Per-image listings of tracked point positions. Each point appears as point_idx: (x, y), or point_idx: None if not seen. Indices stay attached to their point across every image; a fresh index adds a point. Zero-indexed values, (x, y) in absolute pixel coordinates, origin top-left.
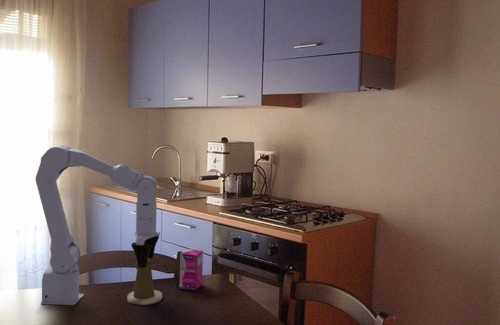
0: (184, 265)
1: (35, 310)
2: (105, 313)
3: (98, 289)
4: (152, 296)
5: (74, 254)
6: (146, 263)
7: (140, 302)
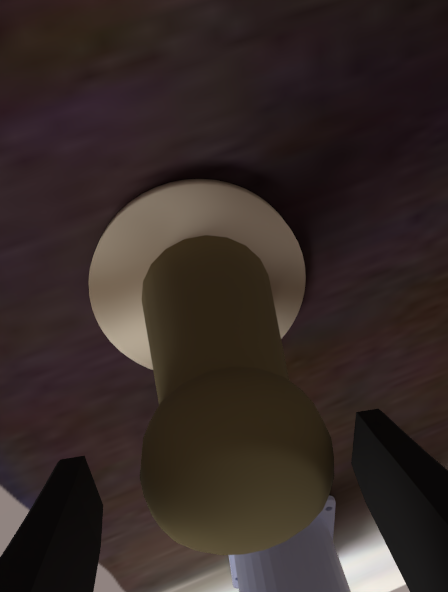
0: None
1: (375, 550)
2: (412, 370)
3: (130, 505)
4: (226, 239)
5: None
6: (410, 440)
7: (303, 276)
